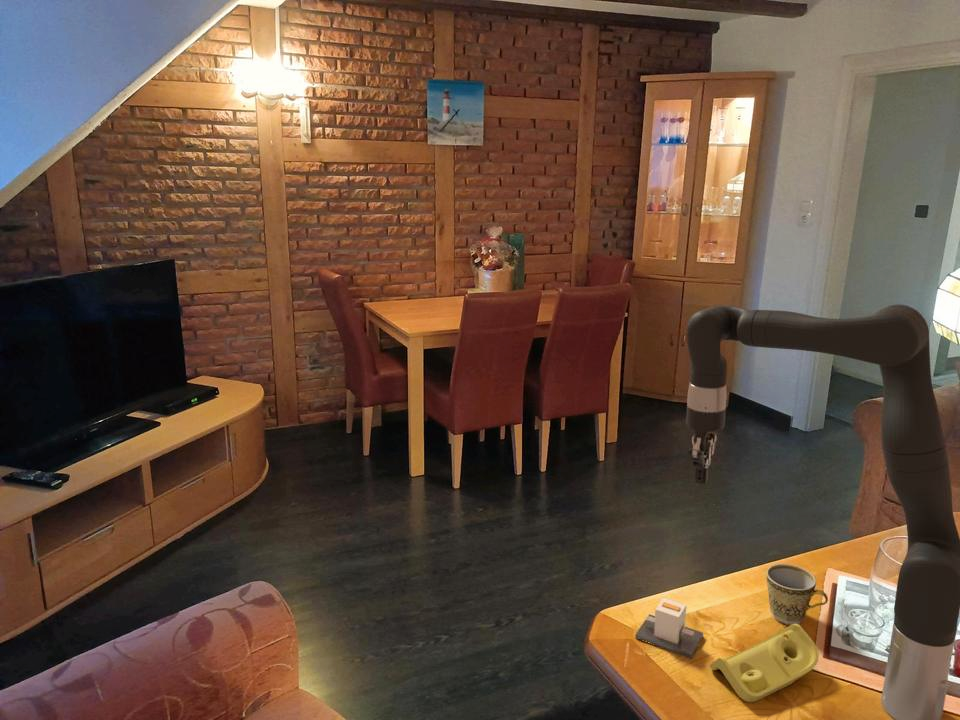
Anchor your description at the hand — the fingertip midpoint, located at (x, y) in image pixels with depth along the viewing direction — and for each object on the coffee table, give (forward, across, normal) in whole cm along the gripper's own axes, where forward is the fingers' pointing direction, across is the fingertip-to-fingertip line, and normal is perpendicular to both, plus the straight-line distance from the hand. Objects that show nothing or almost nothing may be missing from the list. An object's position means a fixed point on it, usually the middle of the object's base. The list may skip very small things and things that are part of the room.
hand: (701, 481), depth 146 cm
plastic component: (+34, -10, -18) cm, 39 cm away
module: (+32, -10, +2) cm, 33 cm away
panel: (+33, -10, +2) cm, 34 cm away
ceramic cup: (+33, +11, -19) cm, 40 cm away
